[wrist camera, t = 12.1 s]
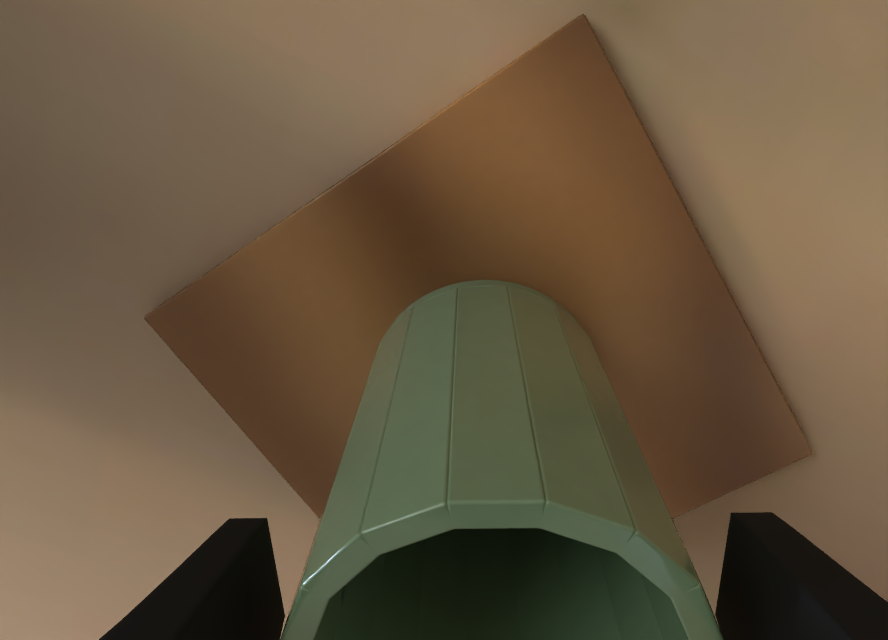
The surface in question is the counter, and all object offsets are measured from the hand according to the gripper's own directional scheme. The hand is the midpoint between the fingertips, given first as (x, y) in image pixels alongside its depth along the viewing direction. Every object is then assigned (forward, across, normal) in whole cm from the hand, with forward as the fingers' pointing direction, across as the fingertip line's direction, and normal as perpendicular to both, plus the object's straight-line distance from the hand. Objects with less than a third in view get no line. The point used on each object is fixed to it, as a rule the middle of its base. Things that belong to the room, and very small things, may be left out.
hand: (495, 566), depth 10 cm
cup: (+6, 0, 0) cm, 6 cm away
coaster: (+6, 0, 0) cm, 6 cm away
